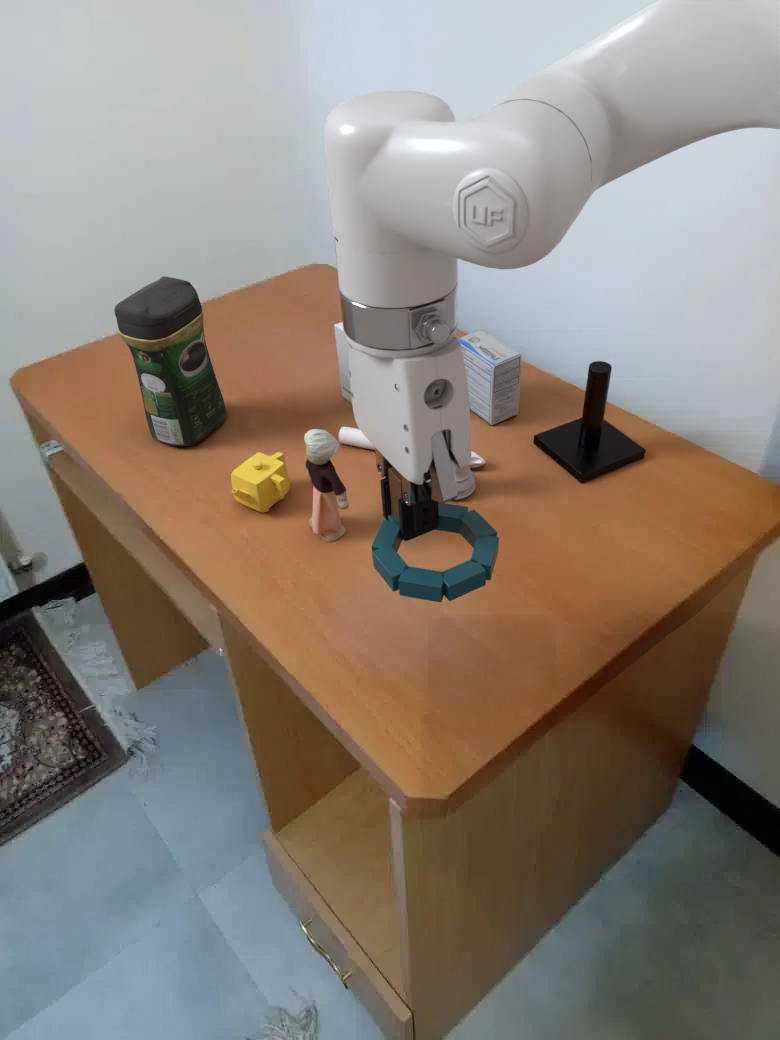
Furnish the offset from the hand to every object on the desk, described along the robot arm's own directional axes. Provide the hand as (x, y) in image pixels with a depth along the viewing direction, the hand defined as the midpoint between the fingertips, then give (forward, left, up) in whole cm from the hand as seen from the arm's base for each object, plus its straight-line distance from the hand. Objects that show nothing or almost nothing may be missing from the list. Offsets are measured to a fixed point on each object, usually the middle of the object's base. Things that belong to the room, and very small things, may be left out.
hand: (410, 521), depth 63 cm
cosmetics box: (+38, -17, -14) cm, 44 cm away
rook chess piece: (+16, -14, -14) cm, 26 cm away
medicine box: (+28, -26, -14) cm, 41 cm away
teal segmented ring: (-4, 0, -1) cm, 4 cm away
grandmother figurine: (+17, +1, -14) cm, 22 cm away
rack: (+14, -31, -14) cm, 37 cm away
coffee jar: (+44, +8, -14) cm, 47 cm away
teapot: (+25, +5, -14) cm, 29 cm away
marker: (+24, -13, -14) cm, 31 cm away
